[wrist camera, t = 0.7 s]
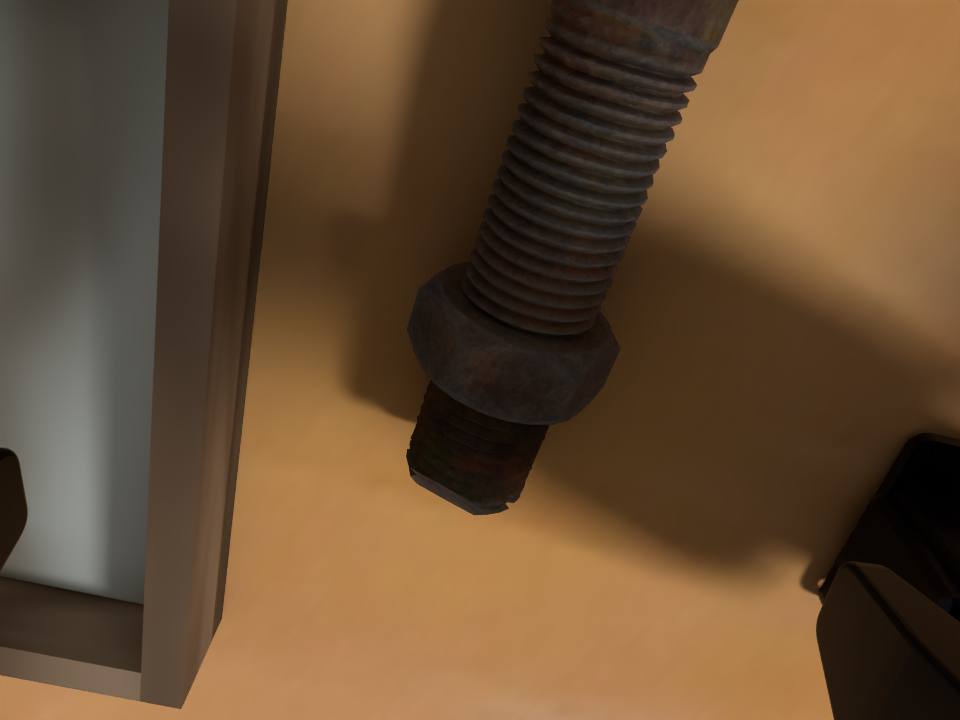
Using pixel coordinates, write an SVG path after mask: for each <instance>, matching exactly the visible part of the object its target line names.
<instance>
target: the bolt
mask: <svg viewBox="0 0 960 720" xmlns="http://www.w3.org/2000/svg"><path fill="white" fill-rule="evenodd" d="M737 2H738V0H552V3H551V6H550V9H551V14H552V18H550V19H548V20H547V21H546V24H545V27H546V28H547V30H548V31H549V32H550V34H551V37H542V38H540V41H539V44H540V46H541V47H542V49H543V50H544V51H545V54H540V55H534V60H533V61H534V62H535V64H536V65H537V67H538V68H539V70H540V71H533V72H529V74H528V77H529V79H530V81H531V82H532V83H533V85H534V87H528V88H525V90H524V92H523V94H522V95H523V97H524V98H525V100H526V101H527V102H528V103H523V104H520V105H519V107H518V109H517V112H518V115H519V116H520V118H521V119H519V120H515V121H514V122H513V124H512V126H511V128H512V131H513V133H514V134H515V135H511V136H510V137H509V138H508V139H507V141H506V143H507V147H508V149H509V150H506V151H505V152H504V153H503V155H502V159H503V163H504V164H505V165H500V167H499V170H498V172H497V174H498V176H499V177H500V178H501V179H498V180H495V182H494V183H493V189H494V194H492V195H491V196H490V197H488V202H487V203H488V204H489V206H490V208H486V211H485V213H484V215H483V218H484V219H485V222H482V224H481V226H480V229H479V232H480V234H481V235H479V236H478V237H477V238H476V241H475V246H476V248H475V249H474V250H473V251H472V253H471V262H466V263H460V264H456V265H452V266H450V267H448V268H446V269H445V270H443V271H441V272H440V273H438V274H436V275H435V276H434V277H433V278H431V279H430V280H429V281H428V282H426V283H425V284H424V285H423V286H421V287H420V288H419V290H418V294H417V297H416V300H415V304H414V307H413V311H412V314H411V317H410V321H409V324H408V328H407V330H408V333H409V336H410V339H411V343H412V346H413V349H414V352H415V354H416V356H417V358H418V360H419V363H420V365H421V367H422V368H423V370H424V371H425V372H426V373H427V375H428V376H429V377H430V379H431V381H430V383H429V385H428V387H427V393H426V394H425V396H424V403H423V404H422V406H421V413H420V414H419V416H418V417H417V424H416V427H415V429H414V432H413V434H412V436H411V439H412V440H411V441H410V444H409V445H410V449H407V455H406V457H407V462H408V465H409V471H410V476H411V477H412V478H413V480H414V481H415V482H416V483H417V484H419V485H420V486H422V487H424V488H426V489H427V490H429V491H431V492H433V493H434V494H436V495H438V496H440V497H441V498H443V499H445V500H447V501H449V502H451V503H452V504H454V505H456V506H458V507H460V508H462V509H464V510H465V511H467V512H469V513H471V514H473V515H488V514H494V513H499V512H502V511H504V510H506V509H509V508H508V506H507V505H506V504H505V503H506V502H510V503H515V502H516V501H517V499H518V498H519V497H520V493H521V491H522V490H523V488H524V485H525V481H526V478H527V476H528V474H529V471H530V470H531V469H532V464H533V462H534V460H535V458H536V455H537V453H538V450H539V448H540V446H541V444H542V441H543V440H544V439H545V434H546V432H547V430H548V427H549V425H552V424H556V423H560V422H564V421H568V420H569V419H571V418H572V417H574V416H575V415H577V414H578V413H579V412H580V411H581V410H582V409H583V408H585V407H586V406H587V405H588V404H589V403H590V402H591V400H592V399H593V398H594V397H595V396H596V394H597V393H598V392H599V391H600V390H601V389H602V387H603V386H604V384H605V382H606V379H607V377H608V375H609V373H610V371H611V368H612V366H613V364H614V362H615V360H616V357H617V355H618V353H619V351H620V347H619V345H618V343H617V341H616V339H615V337H614V334H613V332H612V330H611V327H610V325H609V323H608V322H607V320H606V319H605V317H604V316H603V314H602V313H601V312H600V309H601V302H602V301H603V300H604V299H605V297H606V290H607V289H608V288H609V287H610V285H611V283H612V276H614V274H615V273H616V271H617V270H618V267H617V263H618V262H620V260H621V258H622V256H623V254H624V251H623V249H624V248H626V246H627V244H628V242H629V239H630V236H629V234H632V232H633V230H634V228H635V225H636V222H635V220H636V219H638V218H639V216H640V214H641V211H642V207H641V205H642V204H644V203H645V201H646V200H647V198H648V196H647V190H646V189H648V188H650V187H651V186H652V185H653V175H652V174H655V173H656V171H657V170H658V169H659V167H660V166H659V158H662V157H663V156H664V155H665V153H666V152H667V149H666V144H665V143H666V142H668V141H671V140H673V138H674V136H675V135H674V131H673V129H672V128H671V127H672V126H675V125H677V124H680V123H681V121H682V117H681V115H680V113H679V112H678V111H677V110H680V109H683V108H686V107H687V105H688V102H689V99H688V98H687V97H686V96H685V95H684V94H683V93H685V92H689V91H693V90H694V89H695V88H696V86H697V84H696V83H695V81H694V80H693V78H692V77H691V76H693V75H696V74H700V73H702V71H703V69H704V66H705V64H706V62H707V59H708V57H709V55H710V53H711V52H713V51H714V50H715V49H716V48H717V47H718V45H719V43H720V41H721V39H722V36H723V34H724V32H725V30H726V27H727V25H728V23H729V21H730V18H731V16H732V14H733V11H734V9H735V7H736V5H737Z"/></svg>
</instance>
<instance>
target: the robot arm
mask: <svg viewBox="0 0 960 720" xmlns="http://www.w3.org/2000/svg"><path fill="white" fill-rule="evenodd" d="M927 449H931V451H930V452H929V453H928V454H926V455H923V456H920V454H921V453H922V452H923V451H924V450H927ZM27 517H28V507H27V501H26V496H25V490H24V485H23V479H22V473H21V468H20V462H19V459H18V457H17V455H16V454H15V452H14V451H12V450H10V449H8V448H3V447H0V572H1V570H2V568H3V566H4V565H5V563H6V561H7V559H8V558H9V556H10V554H11V553H12V551H13V549H14V547H15V546H16V544H17V542H18V540H19V539H20V537H21V535H22V533H23V531H24V529H25V526H26V522H27ZM818 595H819V599H820V601H821V603H822V608H821V610H820V612H819V615H818V619H817V625H816V635H817V642H818V647H819V651H820V656H821V661H822V665H823V670H824V675H825V679H826V684H827V689H828V694H829V698H830V703H831V708H832V712H833V717H834V720H960V440H957V439H953V438H948V437H944V436H940V435H935V434H931V433H922V434H918V435H916V436H914V437H912V438H911V439H909V440H908V442H907V443H906V444H905V445H904V447H903V449H902V450H901V452H900V454H899V456H898V457H897V459H896V461H895V462H894V464H893V466H892V467H891V469H890V471H889V473H888V474H887V476H886V478H885V479H884V481H883V483H882V485H881V486H880V488H879V490H878V491H877V493H876V495H875V496H874V498H873V499H872V500H871V501H870V503H869V505H868V506H867V508H866V510H865V511H864V513H863V515H862V517H861V518H860V520H859V522H858V523H857V525H856V527H855V528H854V530H853V532H852V534H851V535H850V537H849V539H848V540H847V542H846V544H845V546H844V547H843V549H842V551H841V552H840V554H839V556H838V557H837V559H836V561H835V565H834V566H833V568H832V570H831V571H830V573H829V575H828V576H827V578H826V580H825V582H824V583H823V585H822V587H821V588H820V590H819V594H818Z"/></svg>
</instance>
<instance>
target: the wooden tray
mask: <svg viewBox="0 0 960 720" xmlns="http://www.w3.org/2000/svg"><path fill="white" fill-rule="evenodd" d="M287 1H288V0H0V447H3V448H8V449H10V450H12V451H14V452H15V454H16V455H17V457H18V459H19V462H20V468H21V473H22V479H23V485H24V490H25V496H26V501H27V507H28V517H27V522H26V526H25V529H24V531H23V533H22V535H21V537H20V539H19V540H18V542H17V544H16V546H15V547H14V549H13V551H12V553H11V554H10V556H9V558H8V559H7V561H6V563H5V565H4V566H3V568H2V570H1V572H0V675H3V676H8V677H14V678H19V679H24V680H30V681H35V682H40V683H46V684H51V685H56V686H61V687H67V688H72V689H77V690H83V691H88V692H93V693H99V694H104V695H109V696H115V697H120V698H125V699H130V700H136V701H141V702H146V703H152V704H157V705H162V706H168V707H173V708H178V709H181V708H182V706H183V704H184V702H185V699H186V697H187V695H188V693H189V691H190V688H191V686H192V684H193V682H194V679H195V677H196V675H197V673H198V670H199V668H200V666H201V664H202V661H203V659H204V657H205V655H206V653H207V650H208V648H209V646H210V644H211V641H212V639H213V637H214V635H215V632H216V630H217V628H218V626H219V623H220V621H221V619H222V612H223V602H224V593H225V583H226V574H227V565H228V555H229V546H230V537H231V527H232V518H233V508H234V499H235V490H236V480H237V471H238V461H239V452H240V443H241V433H242V424H243V414H244V405H245V396H246V386H247V377H248V368H249V358H250V349H251V339H252V330H253V321H254V311H255V302H256V292H257V283H258V274H259V264H260V255H261V245H262V236H263V227H264V217H265V208H266V199H267V189H268V180H269V170H270V161H271V152H272V142H273V133H274V123H275V114H276V105H277V95H278V86H279V76H280V67H281V58H282V48H283V39H284V29H285V20H286V11H287Z"/></svg>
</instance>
